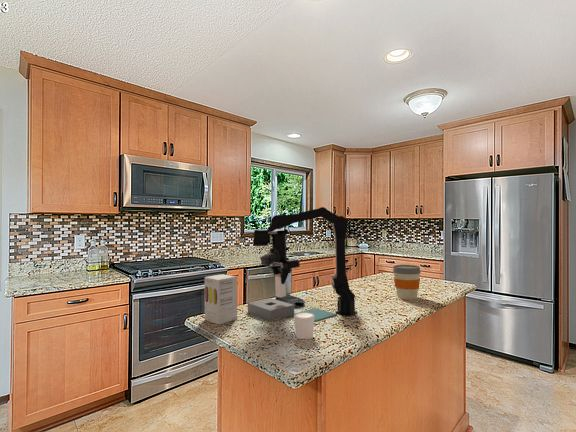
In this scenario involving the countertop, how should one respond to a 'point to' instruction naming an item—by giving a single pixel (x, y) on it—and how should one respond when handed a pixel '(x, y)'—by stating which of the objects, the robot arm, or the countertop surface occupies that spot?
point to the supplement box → (220, 298)
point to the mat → (319, 314)
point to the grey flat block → (271, 309)
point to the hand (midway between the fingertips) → (280, 283)
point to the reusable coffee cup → (406, 281)
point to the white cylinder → (304, 325)
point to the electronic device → (291, 300)
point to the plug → (279, 286)
